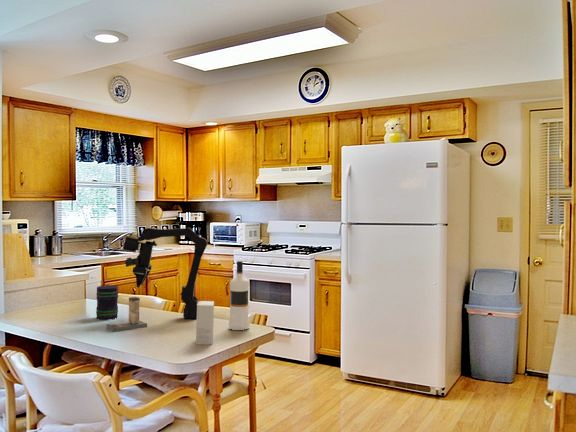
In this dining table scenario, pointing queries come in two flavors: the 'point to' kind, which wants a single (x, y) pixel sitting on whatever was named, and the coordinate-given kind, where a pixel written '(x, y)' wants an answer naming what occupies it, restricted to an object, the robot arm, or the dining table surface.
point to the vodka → (239, 300)
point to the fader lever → (134, 310)
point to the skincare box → (205, 323)
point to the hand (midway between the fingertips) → (139, 285)
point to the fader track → (125, 326)
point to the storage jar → (107, 302)
